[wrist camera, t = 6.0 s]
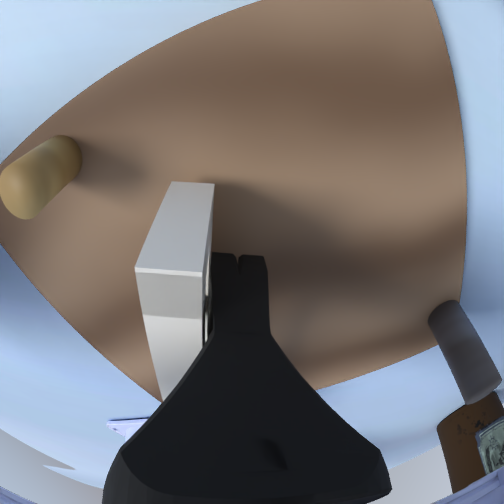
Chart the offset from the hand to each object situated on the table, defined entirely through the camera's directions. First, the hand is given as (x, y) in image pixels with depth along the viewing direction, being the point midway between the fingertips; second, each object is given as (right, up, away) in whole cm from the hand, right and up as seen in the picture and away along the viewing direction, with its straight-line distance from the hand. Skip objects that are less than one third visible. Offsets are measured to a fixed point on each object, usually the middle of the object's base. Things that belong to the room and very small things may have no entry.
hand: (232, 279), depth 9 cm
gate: (-2, -2, +2) cm, 3 cm away
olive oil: (+28, -20, +19) cm, 39 cm away
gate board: (+1, 0, +3) cm, 3 cm away
